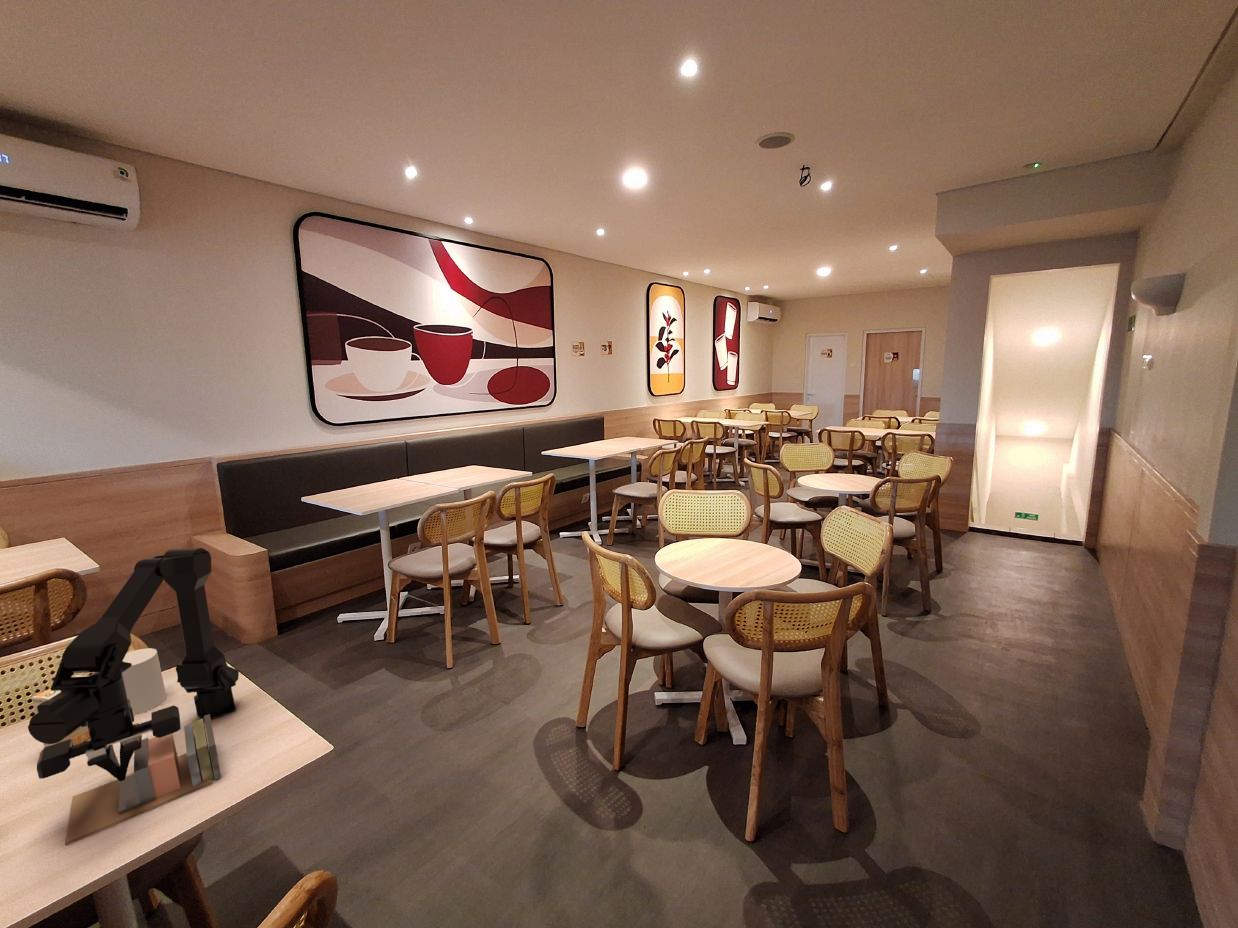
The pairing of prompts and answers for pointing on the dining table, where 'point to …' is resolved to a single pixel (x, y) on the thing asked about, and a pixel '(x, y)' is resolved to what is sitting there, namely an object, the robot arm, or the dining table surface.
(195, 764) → the shelf
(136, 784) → the bookend
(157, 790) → the terracotta rectangular block
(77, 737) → the supplement box
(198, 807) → the dining table surface
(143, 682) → the cup
